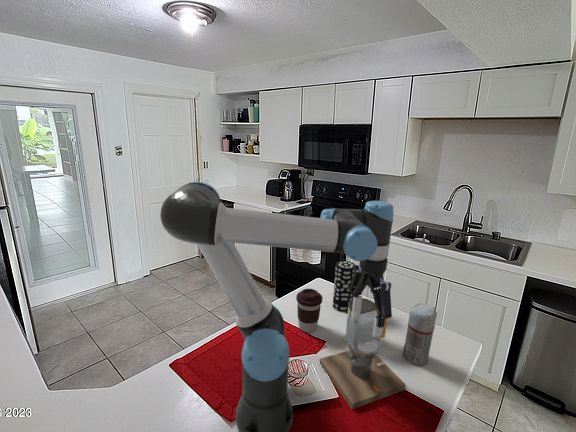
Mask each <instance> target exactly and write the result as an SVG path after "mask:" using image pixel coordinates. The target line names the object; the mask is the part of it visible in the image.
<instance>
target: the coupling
mask: <svg viewBox="0 0 576 432" xmlns="http://www.w3.org/2000/svg"><path fill="white" fill-rule="evenodd" d="M381 313H382V312H381ZM375 315H377V311H376V310H374V311H372V312H368V313H364V314H359V315H355V316H351V317H348V316H347V317H348V319H347V320H346V328H347V329H345V336H346V337H345V339H346V338H347V339H348V341H349V342H348V341H347V342H348V351H349V350H350V351H351V353H352V354H354V355H355V356H357V357H360V358H364V359H371V358H374V357H376V356H379V355H378V354H379V351H380V343H381V342H380V341H381V339H384V338H385V337H386V331H387V326H388V319H385V325H384V327H383V330H382V335H380V336H376V337H374V336H373V328H374V319H375Z"/></svg>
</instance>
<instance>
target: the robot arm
mask: <svg viewBox="0 0 576 432" xmlns="http://www.w3.org/2000/svg"><path fill="white" fill-rule="evenodd" d="M160 222H161V224H162V226H163V228H164V230H165V231H166V232H167V233H168V234H169V235H170V236H171V237H173V238H174V239H176V240H179V241H181V242H185V243H189V244H192V245H196V246H198V248H199V250H200V252H201V254H202V256H203V257H204V259H205V261H206V263H207V264H208V266H209V268H210V270H211V271H212V273H213V275H214V276H215V279H216V280H217V283H218V284H219V285H220V287H221V289H222V290H223V293H224V294H225V296H226V298H227V299H228V301H229V302H230V305H231V306H232V308H233V310H234V311H235V314H236V317H235V325H236V326H237V328H238V330H239V331H240V333H241V335H242V336H243V340H244V341H243V346H242V349H241V362H242V363H241V364H242V367H241V369H242V370H241V371H242V379H241V380H242V382H241V383H242V394H241V396H240V398H239V401H238V403H237V406H236V410H235V423H236V424H235V425H236V427H237V431H238V432H289V431H290V430H291V427H292V425H293V419H294V418H293V417H294V409H293V405H292V402H291V400H290V397H289V393H288V386H289V385H288V381H289V361H290V356H291V355H290V347H289V342H288V341H287V339H286V332H285V327H286V326H285V320H284V317H283V315H282V313H281V311H280V310H279V308H278V307H276V306H275V305H274V304H273V303H272V301H271V300H270V299H268V298H264V297H263V294H262V293H261V291H260V290H259V287H258V286H257V284H256V282H255V280H254V278H253V277H252V275H251V273H250V271H249V268H248V267H247V265H246V263H245V261H244V260H243V258H242V256H241V254H240V252H239V250H238V248H237V247H236V245H235V244H243V245H244V244H245V245H252V246H253V245H254V246H263V247H264V246H267V247H275V248H283V249H284V248H285V249H293V250H294V249H296V250H305V251H307V250H308V251H316V252H327V253H334V254H335V253H337V254H345V255H346V256H347V257H348V258H350V259H351V260H353V261H356V262H359V263H358V264H355V266H354V274H353V277H352V280H351V284H350V287H349V291H350V292H352V296H353V301H352V304H353V307H352V316H355V315H359V314H360V313H361V303H362V298H363V296H361V295H363V294H362V293H363V292H364V290H365V289H366V287H368V288H369V290H370V293H372V296H373V297H372V298H373V302H374V303H375V307H376V311H377V315H375V319H374V328H373V336H374V337H376V336H380V335H382V330H383V327H384V325H385V319H387V320H388V319H391V318H392V317H393V315H392V314H393V312H392V311H393V310H392V299H391V297H392V296H391V288H392V282H387V281H385V279H384V274H385V273H386V271H387V269H388V268H387V267H388V257H389V252H390V251H389V250H390V243H391V236H392V228H393V222H394V206H393V204H392V203H389V202H387V201H382V200H369V201H367V202H365V206H364V208H359V209H357V208H335V207H334V208H325V209H323V210H322V211H321V213H320V217H313V216H302V215H294V214H285V213H278V212H277V213H276V212H268V211H259V210H258V211H257V210H250V209H249V210H248V209H241V208H231V207H226V206H225V205H224V203H223V202H222V201H221V197H220V194H219V193H218V191H217V190H216V189H215V187H213V186H212V185H211V184H208V183H206V182H203V181H192V182H188V183H186V184H183V185H181V186H180V187H178V188H177V190H175V191H174V192H172V193H171V194H170V195H168V196H167V197H166V199H165V200H164V202H163V203H162V206H161V208H160ZM381 312H382V313H381Z"/></svg>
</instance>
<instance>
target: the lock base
mask: <svg viewBox="0 0 576 432" xmlns="http://www.w3.org/2000/svg"><path fill="white" fill-rule="evenodd" d="M318 362H320V364H321V365H322V367H323V368H324V370H325V371H326V373H327V374H328V375H327V374H326V373H325V374H326V375H327V377H328V376H329V377H328V378H329V380H330V381H331V382H332V384H333V385H334V387H335V388H336V389H337V391H338V392H339V394H340V395H341V396H342V398H343V399H344V400H345V402H346V404H348V406H349V408H350V409H351V410H355V409H357V407H358V408H360V407H362V406H365V404H366V405H368V403H369V404H371V403H374V402H377V401H379V400H382V399H384V398H387V397H390V396H392V395H394V394H398V393H401V392H403V391H406V386H407V384H406V383H405V382H404V381H403V380H402V379H401V378H400V377H399V376H398V375H397V374H396V373H395V372H394V371H393V370H392V369H391V368H390V367H389V366H388V365H387V364H386V363H385V362H384V361H383V359H381V358H380V357H379V355H377V356H376V357H374V358H371V359H364V358H360V357H357V356H355V355H354V354H352V353H351V351H350V350H349V349H348V350H345V351H342V352H338V353H334V354H331V355H329V356H324V357H321V358H319V361H318ZM320 364H319V365H320ZM322 367H321V368H322ZM323 368H322V369H323ZM324 370H323V371H324ZM325 371H324V372H325Z"/></svg>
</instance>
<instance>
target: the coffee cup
mask: <svg viewBox="0 0 576 432" xmlns="http://www.w3.org/2000/svg"><path fill="white" fill-rule="evenodd" d="M295 298H296V299H295V300H296V302H297V307H296V308H297V320H298V325H297V326H298V328H299V329H300V330H301V331H302V332H305V333H312V332H314V331H316V330H317V328H318V322H319V319H320V313H321V305H322V303H323V295H322V294H321V293H320V292H319V291H318V290H316V289H314V288H304V289H302V290H301V291H299V292H297V293H296V297H295Z"/></svg>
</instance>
